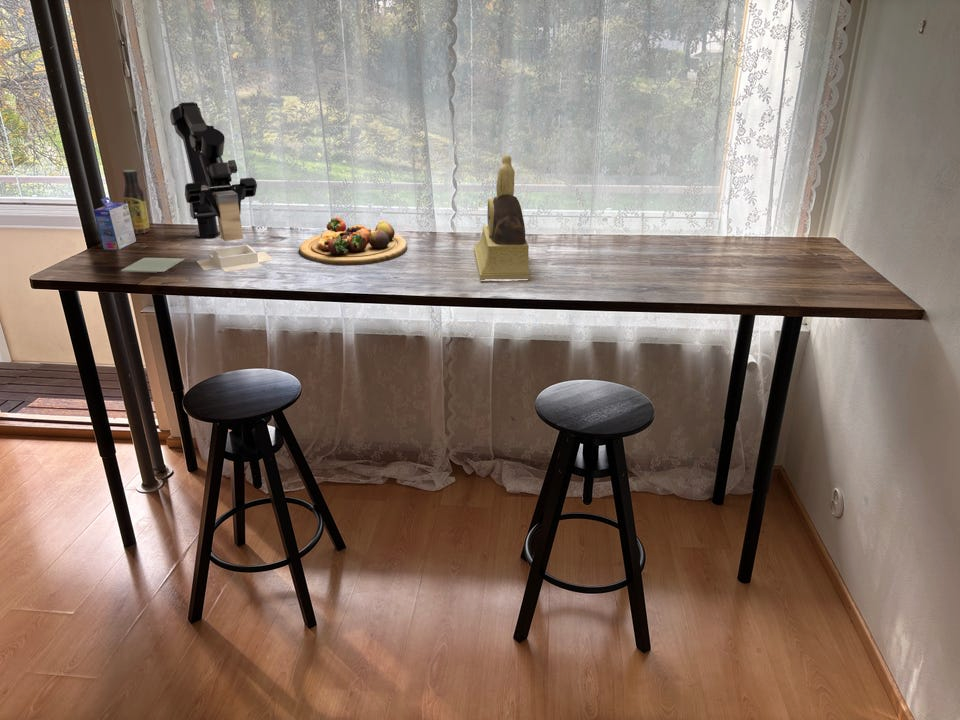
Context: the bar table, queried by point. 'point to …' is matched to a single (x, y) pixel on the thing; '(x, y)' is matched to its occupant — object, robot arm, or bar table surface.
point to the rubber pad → (152, 265)
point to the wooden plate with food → (353, 244)
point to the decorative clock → (503, 233)
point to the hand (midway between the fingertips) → (229, 215)
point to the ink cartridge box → (114, 225)
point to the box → (228, 215)
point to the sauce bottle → (135, 202)
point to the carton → (234, 258)
